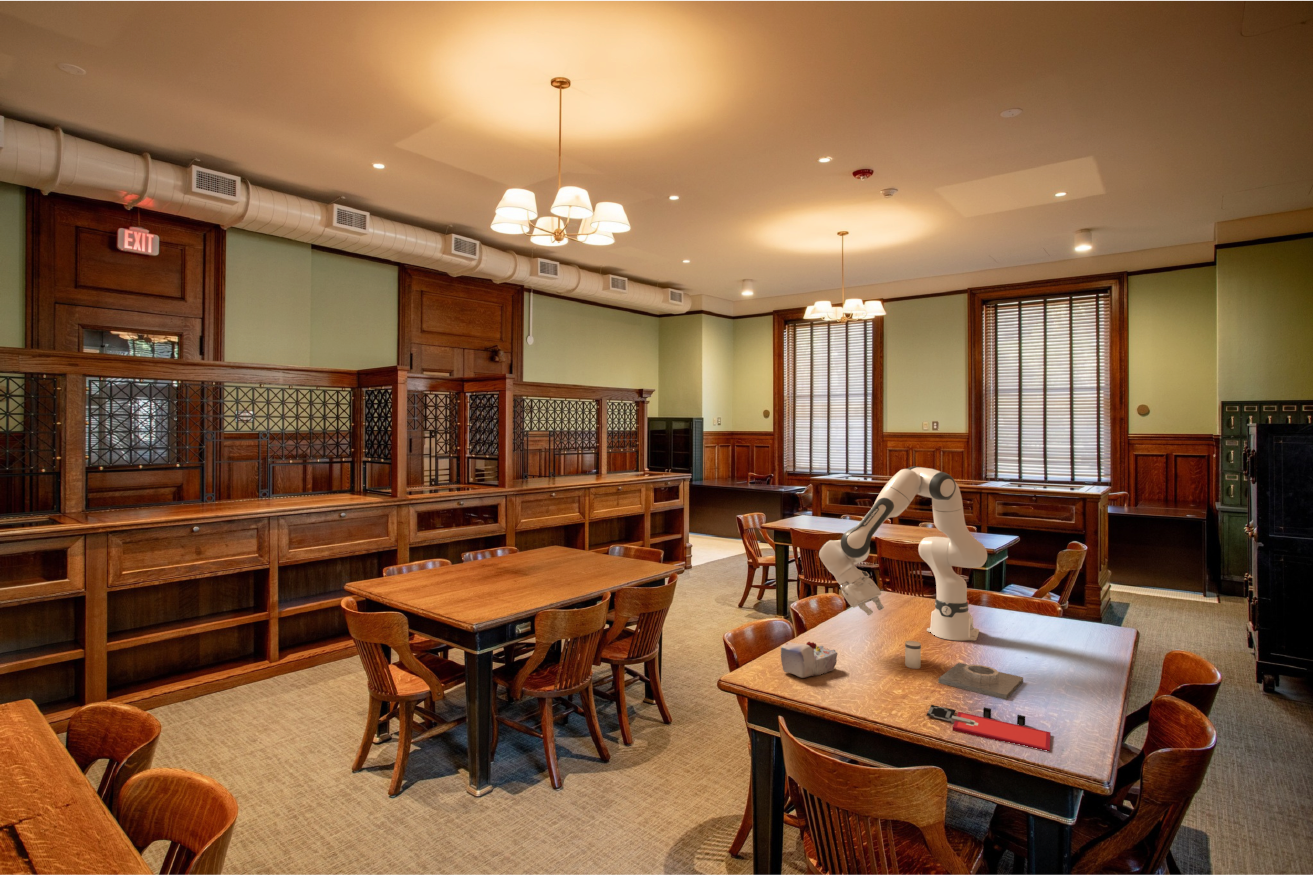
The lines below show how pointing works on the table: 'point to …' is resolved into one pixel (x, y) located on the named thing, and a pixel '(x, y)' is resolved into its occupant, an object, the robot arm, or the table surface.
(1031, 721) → the table surface
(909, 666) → the banded peg cylinder
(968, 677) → the ring mount
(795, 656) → the cell model
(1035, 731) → the red board with handle
